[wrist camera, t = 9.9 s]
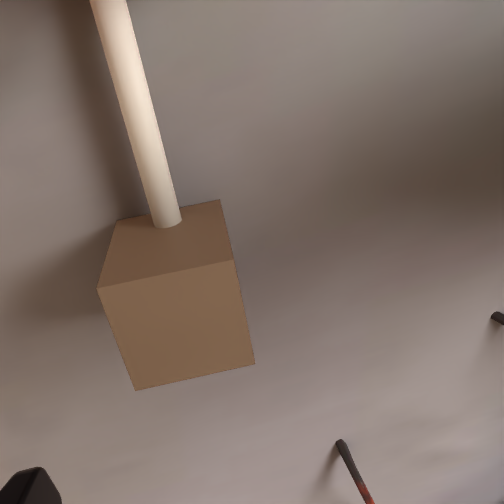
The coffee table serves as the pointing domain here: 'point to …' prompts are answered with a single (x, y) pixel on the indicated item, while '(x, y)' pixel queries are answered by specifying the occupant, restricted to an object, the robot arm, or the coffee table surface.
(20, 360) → the coffee table surface
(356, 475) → the sunglasses
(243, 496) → the coffee table surface
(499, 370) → the coffee table surface
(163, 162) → the uneven block dumbbell
